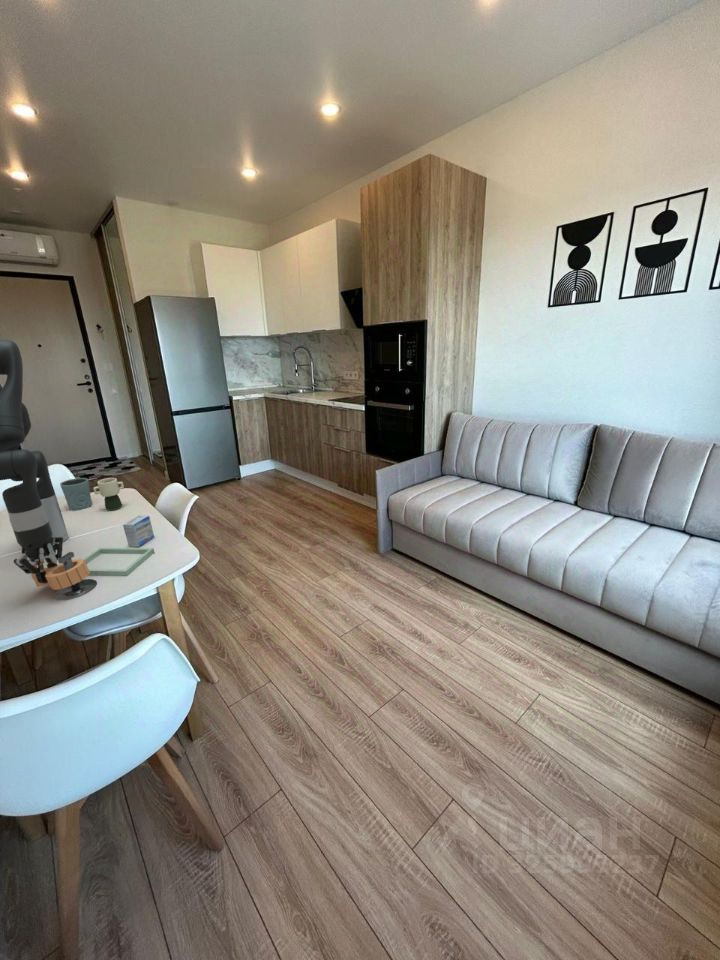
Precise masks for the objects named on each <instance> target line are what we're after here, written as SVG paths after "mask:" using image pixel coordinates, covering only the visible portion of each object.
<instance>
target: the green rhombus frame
mask: <svg viewBox="0 0 720 960" xmlns="http://www.w3.org/2000/svg"><path fill="white" fill-rule="evenodd" d="M101 554H121V555H122V554H124V555H125V554H129V555H130V554H133V555H134V554H137V555H138V554H139V555H141V556H139V557H138V558H137V559H136V560H135V561H133V562H132V563H131V564H129V566H127V567H126V568H125V569H117V568H114V569H110V568H109V569H108V568H104V569H103V568H102V569H101V568H88V569H89V571H90V573H89V575H88V576H101V577H103V576H104V577H105V576H107V577H109V576H110V577H113V576H114V577H128V576H129V575H131V573H132V572H134V571H135V570H136V569H137V568H138V567H140V565H142V564H143V563H144V562H145V561H146V560H148V559H149V558H150V557H151V556H152V555H155V554H156V552H155V549H154V548H153V547H98V548H97V549H95V550H94V551H93V552H91V553H90V554H88V555H87V556H85V557H84V558H82V559H83V560H84V561H85V563H86V565H87V564H89V563H90V562H92V561H93V560H94V559H96V558H97V557H99V556H100V555H101Z"/></svg>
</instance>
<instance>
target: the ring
mask: <svg viewBox="0 0 720 960" xmlns="http://www.w3.org/2000/svg"><path fill="white" fill-rule="evenodd" d="M83 559H84V558H76V559H75V558H74V559H72V562H73V566H74V567H73V568H71V569H69V570H67V571H65V568H64V564H62V563H59V564H57V566H56V567H50V568H47V567H44V571H46V575H45V577H46V579H47V581H48V582H47V583H39V582H38V581H37V578H36V575H35V574H30V575H31V578H32V580H33V582H34V583H35V585H36V587H46V586H49V587H50V588H51V589H52V590H53V591H55V590H56V591H58V590H59V589H62V588H66V587H69V586H72V585H74V584H76V583H78V582H80V581H81V580H84V579H87V577H88V576H90V575H89V573H90V571H89V569H90V568H89V567H88V565H87V564H86V563H85V561H84V560H83Z"/></svg>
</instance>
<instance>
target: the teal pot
mask: <svg viewBox="0 0 720 960" xmlns="http://www.w3.org/2000/svg"><path fill="white" fill-rule="evenodd" d="M59 485H60V488H61V490H62V493H63V494H64V498H65V500H66V503H67V507H68V510H70V511H72V512H73V511H81V510H85V509H88V508H89V507H92V506H93V500H92V496H91V492H90V490H91V489H90V483H89V479H88V477H87V478H86V477H75V478H71V479H67V480H64V481H61V482H60V483H59Z"/></svg>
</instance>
